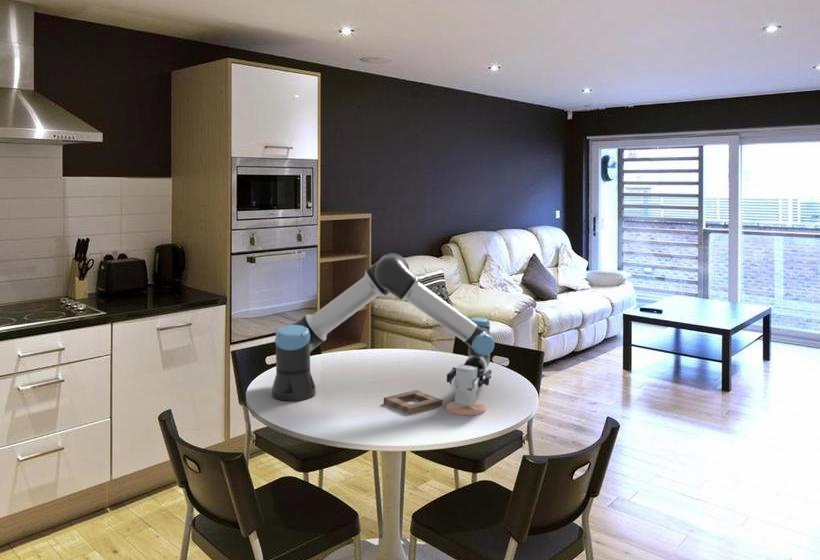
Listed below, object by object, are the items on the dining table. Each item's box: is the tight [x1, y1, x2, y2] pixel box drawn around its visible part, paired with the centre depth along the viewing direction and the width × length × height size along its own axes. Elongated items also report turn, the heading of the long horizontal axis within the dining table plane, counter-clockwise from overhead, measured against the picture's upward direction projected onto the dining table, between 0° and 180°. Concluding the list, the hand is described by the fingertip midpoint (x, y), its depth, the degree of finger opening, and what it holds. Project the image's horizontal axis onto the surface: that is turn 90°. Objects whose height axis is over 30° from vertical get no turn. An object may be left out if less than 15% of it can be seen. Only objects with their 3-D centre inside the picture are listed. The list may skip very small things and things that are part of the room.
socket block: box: [383, 389, 444, 415], centre depth 220 cm, size 14×14×2 cm
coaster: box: [445, 401, 487, 416], centre depth 216 cm, size 13×13×1 cm
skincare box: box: [454, 364, 478, 406], centre depth 215 cm, size 6×4×12 cm
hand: (463, 386), depth 210 cm, fingers closed on skincare box, 7 cm apart
